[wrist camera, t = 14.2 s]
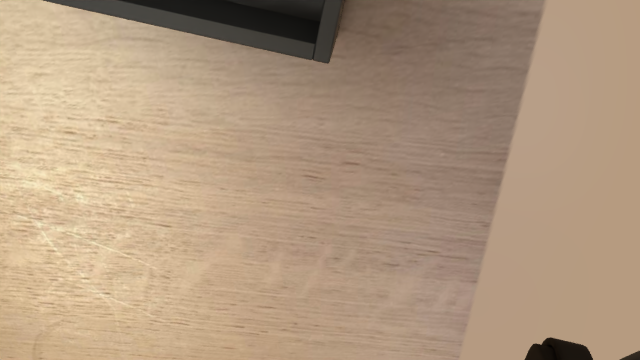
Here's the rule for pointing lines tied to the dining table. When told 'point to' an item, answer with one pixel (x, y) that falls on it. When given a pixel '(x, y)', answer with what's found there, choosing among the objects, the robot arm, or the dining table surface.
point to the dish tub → (238, 21)
